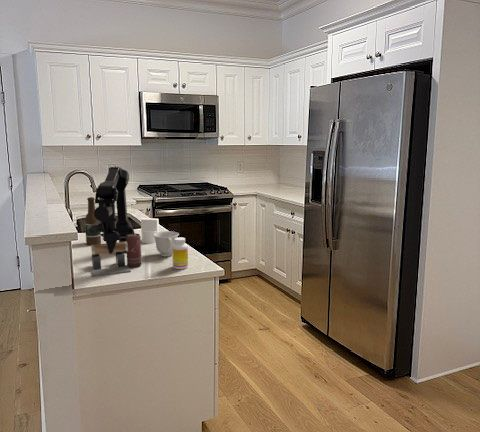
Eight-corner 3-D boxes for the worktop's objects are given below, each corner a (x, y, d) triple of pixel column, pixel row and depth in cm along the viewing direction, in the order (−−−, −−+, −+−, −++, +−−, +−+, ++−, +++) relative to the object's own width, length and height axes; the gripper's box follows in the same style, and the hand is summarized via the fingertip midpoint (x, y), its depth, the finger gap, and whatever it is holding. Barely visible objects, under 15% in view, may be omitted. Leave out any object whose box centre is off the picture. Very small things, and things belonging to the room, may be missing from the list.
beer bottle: (89, 246, 223) (86, 199, 218) (83, 243, 229) (80, 197, 224) (104, 243, 228) (101, 197, 223) (97, 240, 234) (95, 195, 229)
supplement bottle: (189, 269, 191) (188, 240, 188) (173, 270, 189) (173, 241, 186) (186, 264, 197) (186, 236, 194) (171, 265, 195) (170, 237, 193)
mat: (91, 271, 186) (91, 270, 186) (128, 267, 192) (128, 266, 192) (93, 276, 181) (93, 275, 181) (130, 271, 187) (130, 270, 186)
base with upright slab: (161, 239, 238) (160, 217, 236) (156, 243, 229) (155, 221, 227) (144, 238, 239) (143, 216, 236) (139, 243, 230) (138, 220, 228)
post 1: (92, 265, 194) (91, 253, 193) (99, 265, 195) (98, 253, 194) (93, 270, 188) (93, 257, 187) (101, 269, 190) (100, 256, 188)
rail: (91, 252, 183) (91, 244, 183) (126, 248, 189) (126, 241, 188) (92, 254, 181) (92, 246, 180) (128, 250, 186) (127, 243, 185)
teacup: (157, 261, 201) (157, 240, 199) (151, 252, 214) (150, 232, 212) (183, 258, 205) (183, 237, 203) (175, 249, 219) (175, 230, 217)
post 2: (116, 263, 198) (115, 251, 197) (122, 262, 199) (122, 250, 198) (118, 267, 192) (117, 255, 191) (125, 266, 194) (124, 254, 192)
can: (142, 263, 198) (141, 232, 195) (139, 267, 192) (138, 236, 189) (129, 263, 198) (127, 232, 195) (125, 267, 191) (124, 236, 189)
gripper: (85, 212, 187) (87, 248, 190) (89, 222, 170) (91, 261, 173) (112, 210, 191) (114, 245, 194) (119, 219, 174) (121, 257, 178)
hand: (110, 252), depth 185 cm, fingers closed on rail, 3 cm apart
